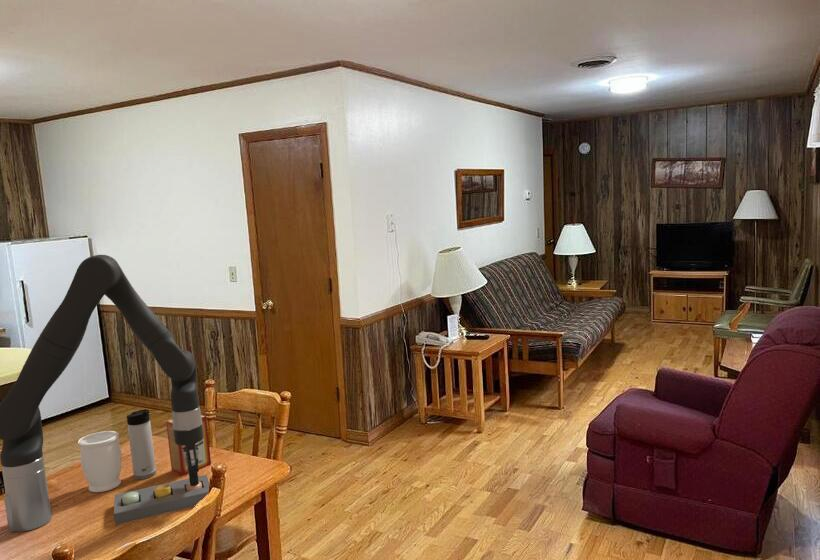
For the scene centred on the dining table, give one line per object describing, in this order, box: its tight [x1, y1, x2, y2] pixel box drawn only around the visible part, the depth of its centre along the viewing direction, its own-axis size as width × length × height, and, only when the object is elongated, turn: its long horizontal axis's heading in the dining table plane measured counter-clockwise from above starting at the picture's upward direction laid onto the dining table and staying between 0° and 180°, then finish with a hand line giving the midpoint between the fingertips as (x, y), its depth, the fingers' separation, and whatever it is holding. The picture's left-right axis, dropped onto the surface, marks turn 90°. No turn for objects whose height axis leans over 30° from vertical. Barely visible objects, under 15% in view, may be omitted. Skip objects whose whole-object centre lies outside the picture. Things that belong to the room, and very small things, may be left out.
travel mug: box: [126, 408, 157, 480], centre depth 189 cm, size 6×7×20 cm
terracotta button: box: [186, 482, 202, 491], centre depth 174 cm, size 4×4×3 cm
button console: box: [113, 473, 210, 526], centre depth 171 cm, size 24×12×3 cm, turn 114°
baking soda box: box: [165, 414, 212, 477], centre depth 192 cm, size 10×6×16 cm
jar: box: [77, 430, 123, 493], centre depth 183 cm, size 11×10×15 cm
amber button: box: [155, 484, 171, 498], centre depth 170 cm, size 4×4×3 cm
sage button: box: [122, 491, 139, 506], centre depth 167 cm, size 4×4×3 cm
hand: (194, 484), depth 174 cm, fingers closed
